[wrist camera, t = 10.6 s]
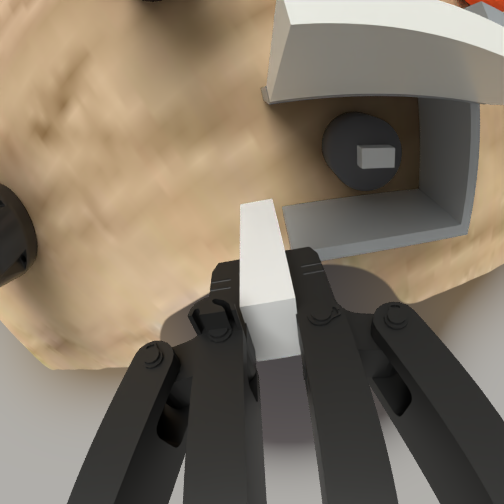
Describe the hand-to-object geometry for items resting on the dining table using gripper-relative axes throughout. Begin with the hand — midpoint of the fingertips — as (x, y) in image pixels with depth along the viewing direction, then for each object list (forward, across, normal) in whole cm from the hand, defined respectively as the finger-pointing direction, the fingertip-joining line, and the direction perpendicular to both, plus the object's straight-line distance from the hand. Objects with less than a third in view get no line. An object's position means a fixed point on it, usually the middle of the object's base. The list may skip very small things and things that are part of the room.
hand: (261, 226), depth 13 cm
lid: (-1, +10, +7) cm, 12 cm away
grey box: (+14, +10, 0) cm, 17 cm away
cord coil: (+14, +10, 0) cm, 17 cm away
